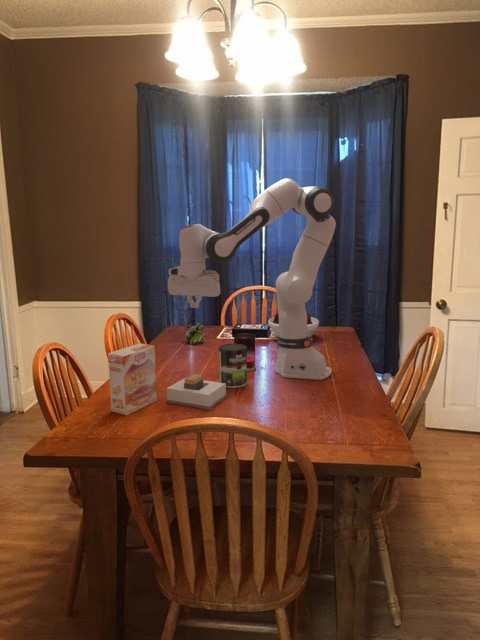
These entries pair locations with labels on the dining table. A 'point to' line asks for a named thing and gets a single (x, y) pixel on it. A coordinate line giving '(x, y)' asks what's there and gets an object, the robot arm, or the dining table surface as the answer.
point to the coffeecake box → (132, 378)
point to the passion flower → (192, 336)
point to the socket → (197, 394)
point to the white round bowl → (311, 324)
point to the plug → (194, 382)
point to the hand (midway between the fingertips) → (194, 307)
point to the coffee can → (233, 365)
